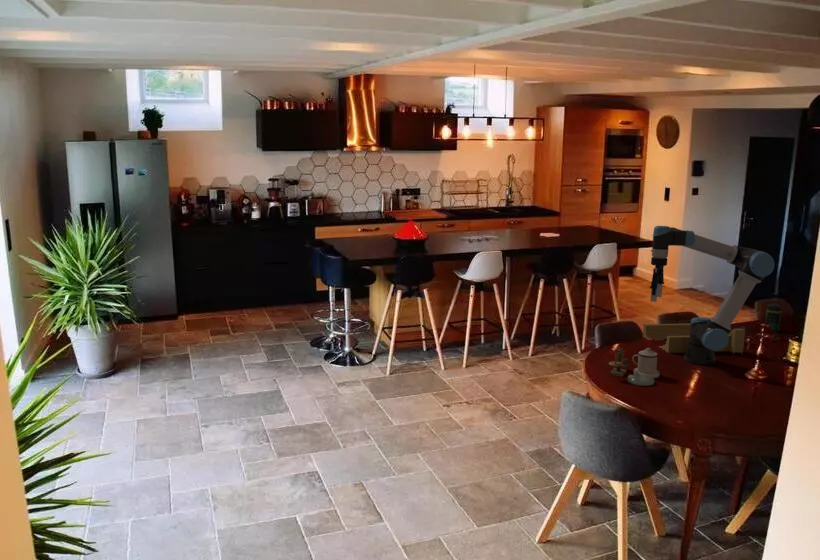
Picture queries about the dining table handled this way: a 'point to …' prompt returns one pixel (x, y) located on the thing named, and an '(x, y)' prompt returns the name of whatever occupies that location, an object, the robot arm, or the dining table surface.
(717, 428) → the dining table surface
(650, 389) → the dining table surface
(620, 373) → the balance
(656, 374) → the dish
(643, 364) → the teacup with lid
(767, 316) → the coffee jar
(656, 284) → the robot arm
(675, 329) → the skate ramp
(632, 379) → the dish
